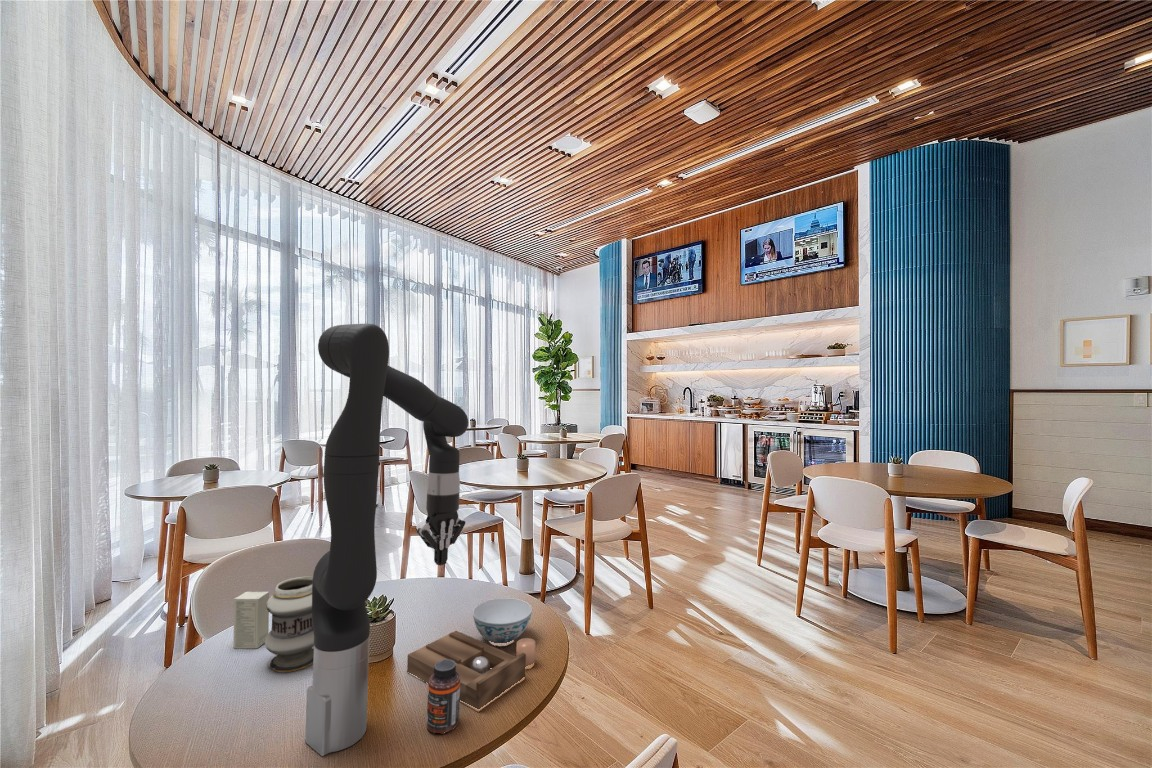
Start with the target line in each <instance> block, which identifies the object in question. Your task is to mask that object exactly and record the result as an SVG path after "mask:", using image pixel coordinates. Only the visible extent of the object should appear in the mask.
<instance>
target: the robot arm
mask: <svg viewBox="0 0 1152 768" xmlns="http://www.w3.org/2000/svg"><path fill="white" fill-rule="evenodd" d="M389 347H390V344H389V340H388V337H387V334H386V333H385V331H384V329H382V327H380V326H379V325H378V324H374V323H348V324H337V325H333V326H331V327H329V328H327V329H326V330H324V331H323V332H322V333H321V335H320V336H319V339H318V344H317V350H318V355H319V357H320V359H321V361H322V362H323V364H325V366H326V367H328V368H329V369H331V370H332V371H334V372H336V373H337V374H341V375H342V376H345V377H347V378H349V382H348V383H349V384H348V385H349V386H348V394H347V399H346V402H345V405H344V407H343V409H342V411H341V414H340V415H339V417H338V418H337V421H336V422H335V424H334V425H333V427H332V429H331V430H330V433H329V436H328V437H327V439H326V443H325V448H324V460H323V489H324V490H323V491H324V496H325V501H326V508H327V512H328V518H329V524H330V545H329V550H328V551H327V552H326V553H325V554H324V555H322V556H321V558H320V559H319V560H318V561H317V563H316V565H315V567H314V570H313V574H312V577H313V582H312V626H313V631H314V646H313V649H314V655H313V663H312V683H311V684H312V685H310V686H308V687H307V688H306V705H305V706H306V709H305V732H304V733H305V734H304V737H305V738H304V742H305V744H307V745H308V746H309V747H311V749H313V751H315V752H316V753H317V754H318V755H320V756H321V757H324V756H327V754H330V753H334V752H339V751H342V750H345V749H347V748H350V747H351V746H353V745H354V744H356V743H357V742H359V740H361V739H362V738H363V737H364V735H365V733H366V731H367V719H368V694H369V693H368V691H369V689H368V688H369V664H370V662H369V660H370V634H371V633H370V632H371V631H370V630H371V621H370V617H369V613H368V610H367V605H366V601H367V600H368V599H369V598H370V596H371V595H372V594H373V591H374V589H375V586H376V583H377V576H378V571H377V553H376V539H375V537H376V536H375V532H376V531H375V525H376V514H377V513H376V512H377V510H376V509H377V501H378V500H377V499H378V485H379V484H378V483H379V475H380V474H379V472H380V452H381V451H380V450H381V449H380V447H381V446H380V443H381V442H380V441H381V440H380V439H381V426H382V424H381V423H382V410H383V400H384V398H386V399H387V400H388V401H391V402H392V403H394V404H395V405H397V406H398V407H400V408H401V409H402V410H403V411H405V412H406V413H407V414H409V415H411V416H412V417H413V418H415V419H417V421H420V422H422V426H423V427H422V428H423V433H424V438H425V442H426V447H427V450H428V453H429V455H428V456H429V457H428V458H429V460H428V465H429V466H428V474H427V475H428V477H427V483H426V485H427V486H426V506H425V507H426V512H427V516H426V519H425V524H424V525H423V526H422V527H418V528H417V529H416V533H417V535H418V536H419V537H420V538H421V540H422V541H423V543H425V545H426V546H427V547H428V548H430V549H433V550H434V553H433V555H434V556H433V559H434V560H433V561H434V563H435V565H436V566H440V567H441V566H443V565H446V564H447V562H448V556H449V555H448V553H449V548H450V546H451V545H454V544H455V543H456V541H457V540H458V538H459V536H460V534H461V532H462V531H463V529H464V527H465V526H466V521H465V520H462V519H461V518H459V513H458V511H459V509H460V488H461V487H460V485H461V483H460V482H461V480H460V461H461V460H460V457H461V455H460V454H461V453H460V450H459V448H457V447H455V446H452V445H450V444H449V443H448V441H447V438H448V437H449V438H457V437H461V436H462V435H464V434H465V433H466V431H467V430H468V427H469V419H468V415H467V413H466V412H465V410H464V409H463V408H462V407H460V406H459V405H457V404H455V403H453V402H451V401H449V400H447V399H445V398H443V397H440V396H439V395H438V394H437V393H435V392H434V390H432V389H430V388H429V387H428V385H426V384H425V383H423V382H422V381H420V380H419V379H417V378H415V377H414V376H411V375H409V374H408V373H405V372H403V371H401V370H400V369H399V370H398V369H396V368H394V367H392V366H391V365H389V359H390V348H389Z"/></svg>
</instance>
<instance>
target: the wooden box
mask: <svg viewBox="0 0 1152 768" xmlns="http://www.w3.org/2000/svg"><path fill="white" fill-rule="evenodd" d="M478 656H484V657H486V658H487V659H488V660H489V662H490V668H492V669H490V670H489V671H487V672H486V673H484V674H480V673H478V672H476V671H474V670H472V669H470V665H471V663H472V661H473V660H474V659H475V658H476V657H478ZM444 659H450V660H453V661H454V662H455V663H456V671H457V672H458V673H459V675H460V700H461V701H463V702H465V703H467V704H469V705H471V706H473V707H475V708H477V709H480V708H481V707H483V706H484V705H486V704H487V703H488V702H490V701H491V700H493V699H494V698H495V697H497V696H499V695H500V694H501V693H502V692H504V691H505V690H506V689H508V688H510V687H511V686H512V685H514V684H515V683H517V682H518V681H520V680H521V679H522V678H523V677H525V678H526V670H525V667H526V654H525V653H522V654H520V655H519V656H517V657H516V655H513V654H511V653H508V652H506V651H504V650H501V649H499V648H498V647H496V646H493V645H491V644H489V643H485V642H483V641H481V640H478V639H476V638H475V637H472V636H470V635H467V634H465V633H462V632H460V631H458V630H454V631H452V632H450V633H448V634H446V635H444V636H442V637H440V638H438V639H436V640H434V641H432V642H431V643H427V644H426V645H424V646H422V647H420V648H418V649H416V650H414V651H413V652H410V653H408V654H407V661H406V662H407V665H406V667H407V668H406V673H407V672H409V673H411V674H413V675H415V676H417V677H418V678H420V679H422V680H424V681H425V682H427V683H428V682H429V678H430V677H431V675H432V674H433V673H434V665H435V664H436V663H437V662H438V661H441V660H444ZM425 682H424V683H425Z"/></svg>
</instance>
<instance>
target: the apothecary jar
mask: <svg viewBox="0 0 1152 768" xmlns="http://www.w3.org/2000/svg"><path fill="white" fill-rule="evenodd" d="M312 582H313V576H298V577H293V578H288V579H285V580H283V581H281V582H279V583H277V585H276V586H275V589H274V592H273V594H271V596H269V599H268V601H267V604H266V608H267V610H268V611H269V614H271V630H269V633H268V635H267V637H266V639H265V643H264V646H265V649H266V650H268V652H270V653H271V654H273V655H275V656H274V657H273V658H272V659H271V661H270V663H269V665H268V666H269V668H270V669H273V670H274V672H276V673H289V672H296V671H298V670H302V669H305V668H307V667H309V666H311V665H313V655H314V631H313V626H312Z"/></svg>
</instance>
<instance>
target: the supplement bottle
mask: <svg viewBox="0 0 1152 768" xmlns="http://www.w3.org/2000/svg"><path fill="white" fill-rule="evenodd" d="M427 685H428V686H427V705H426V727H427V730H428V732H430V731H431V732H430V733H432V732H433V733H432V734H435V733H444V732H448V731H450V730H452V729H453V728H454V727H455V726H456V725H457V726H458V724H459V722H458V721H459V720H460V703H461V702H460V675H459V673H458V672H457V671H456V663H455V662H454V661H453V660H450V659H444V660H441V661H438V662H437V663H436V664H435V665H434V673H433V674H432V675H431V677H430V678H429V682H428V684H427ZM457 726H456V727H457ZM456 727H455V728H456ZM455 728H454V729H455ZM454 729H453V730H454ZM453 730H452V731H453ZM450 732H451V731H450ZM448 733H449V732H448ZM444 734H445V733H444Z"/></svg>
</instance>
